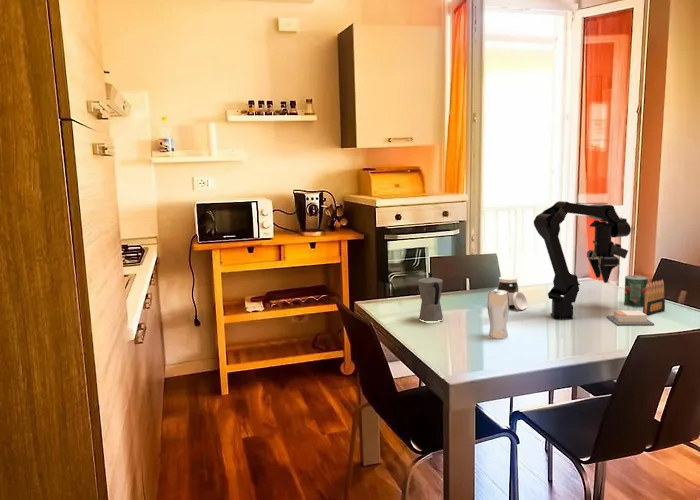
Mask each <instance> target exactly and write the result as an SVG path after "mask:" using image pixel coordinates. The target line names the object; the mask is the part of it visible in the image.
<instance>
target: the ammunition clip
mask: <svg viewBox="0 0 700 500" xmlns="http://www.w3.org/2000/svg"><path fill="white" fill-rule="evenodd" d="M665 308H666V298H665V283H664V279H661V280H660V279H659V280H655V281H652V282H651V281H649V282H648V283H647V285H646V291H645V301H644V303H643V307H642V312H643V313H644V314H646V315H647V317H649V316H651V315H656V314H659V313H664V312H666V311H665V310H666V309H665Z"/></svg>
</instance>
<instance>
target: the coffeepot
mask: <svg viewBox="0 0 700 500" xmlns="http://www.w3.org/2000/svg"><path fill="white" fill-rule="evenodd" d="M427 274H428V277H423V278H419V279H418V281H417V283H418V290H419V295H420V299H421V304H420V309H419V311H420V312H419V318H418V320H419V319H421V320H424V321H438V320H442V318H443V319H444V317H443V316H444V315H443V311H442V310H443V309H442V303H441V301H440V300H441V296H442V288H443V279H442V278H441V279H440V278H436V277H433V272H428V273H427Z"/></svg>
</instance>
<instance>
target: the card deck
mask: <svg viewBox="0 0 700 500" xmlns="http://www.w3.org/2000/svg"><path fill="white" fill-rule="evenodd" d="M612 316H613V318H615V319H616V320H617V321H619V322H647V319H648V316H647V315H646V314H644V313H643V311H641V310H620V309H619V310H618V309H617V310H613V315H612Z"/></svg>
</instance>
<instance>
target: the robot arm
mask: <svg viewBox="0 0 700 500" xmlns="http://www.w3.org/2000/svg"><path fill="white" fill-rule="evenodd" d="M567 214H574V215H583V216H587V217H588V218H591V219H594V220H593V221H592V223H591V224H589V227H591V228H594V238H593V240H592V244H593V245H594V246H593V249H589V250H588V251H587V252H586V258H587V260H588V262H589V264H590V267H591V269H592V271H593V273H594V275H595V277H596V279H599V278H600V277H602V281H603V283H605V284H606V283H607V284H608V281H609V280H610V277H611V273H612V270H614V269H615V268H616V267H618V266H619V265H620V259H619V258H618V257H621V258H622V259H626V257H627V255H628V253H629V250H628V249H625V248H623V247H622V245H621V244H619V243H614V241H612V238H613V239H614V238H622V237H629V235H630V234H631V231H632V227H631V225H630V223H629V222H628V221H627V218H620V216H619V215H618V213H617V211H616V208H615V206H614V205H612V204H602V203H601V204H600V203H597V204H589V205H588V204H582V203H581V204H580V203H574V202H573V203H572V202H568V201H557V202H555V203H554V204H553V205H551V206H550V207H548V208H546V209H544V210H543V211H542V212H541V213H538V214H537V215H536V216H535V217H534V220H533V225H534V228H535V230H536V231H537V234H538V235H539V236H540V237H541V238H542V239H543V241H544V243H545V247H546V250H547V253H548V257H549V261H550V263H551V266H552V269H553V270H552V271H553V272H554V277H553V281H552V283H553V287H552V288H551V289H550V290H549V291H548V293H547V296H548V299H549V300H551V313H550V316H551V317H552V318H553V319H554V320H573V319H574V317H573V316H574V305H573V303H576V300H577V297H578V294H579V292H580V286H581V284H580V283H579V281H578V276H577V275H576V274H572V273H570V270H569V267H568V264H567V261H566V258H565V255H564V251H563V248H562V244H561V241H560V237H559V236H560V231H561V226H560V225H561V224H562V223H563V221H565V218H566V217H567Z"/></svg>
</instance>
